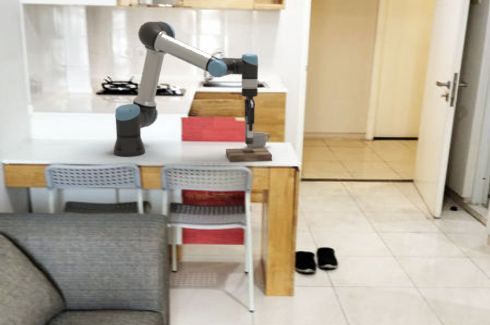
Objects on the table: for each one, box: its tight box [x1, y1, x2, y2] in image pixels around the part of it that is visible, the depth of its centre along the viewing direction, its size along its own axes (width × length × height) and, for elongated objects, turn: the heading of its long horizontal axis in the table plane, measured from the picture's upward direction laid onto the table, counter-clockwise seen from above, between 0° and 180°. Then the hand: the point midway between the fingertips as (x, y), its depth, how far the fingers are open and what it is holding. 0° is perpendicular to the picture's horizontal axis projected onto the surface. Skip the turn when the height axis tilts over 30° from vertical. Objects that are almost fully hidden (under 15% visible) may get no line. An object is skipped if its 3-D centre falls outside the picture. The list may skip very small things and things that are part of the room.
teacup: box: [245, 131, 271, 148], centre depth 276 cm, size 14×11×8 cm
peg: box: [244, 115, 255, 145], centre depth 254 cm, size 4×4×13 cm
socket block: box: [225, 147, 273, 163], centre depth 257 cm, size 14×20×3 cm
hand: (249, 136), depth 255 cm, fingers closed on peg, 4 cm apart
